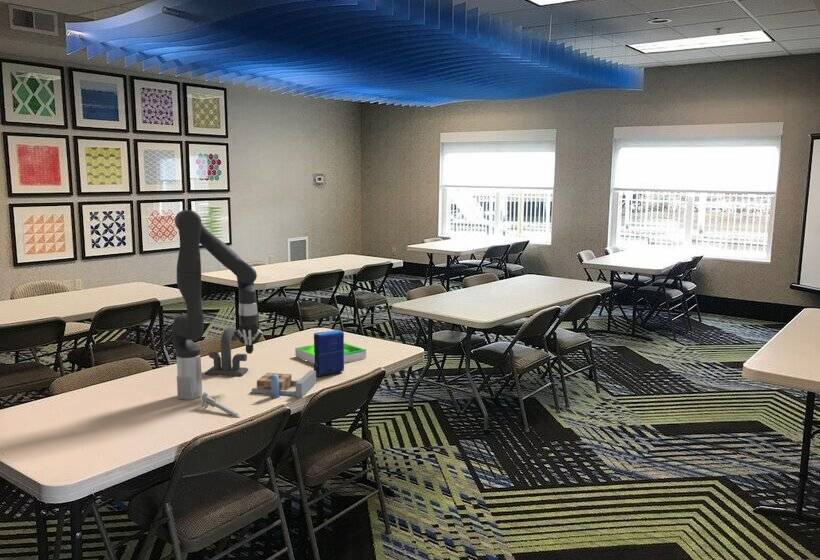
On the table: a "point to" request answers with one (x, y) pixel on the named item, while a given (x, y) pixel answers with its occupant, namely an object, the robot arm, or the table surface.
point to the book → (329, 352)
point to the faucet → (227, 357)
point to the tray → (349, 353)
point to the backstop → (301, 386)
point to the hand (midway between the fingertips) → (249, 353)
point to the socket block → (266, 381)
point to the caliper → (216, 405)
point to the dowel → (274, 386)
